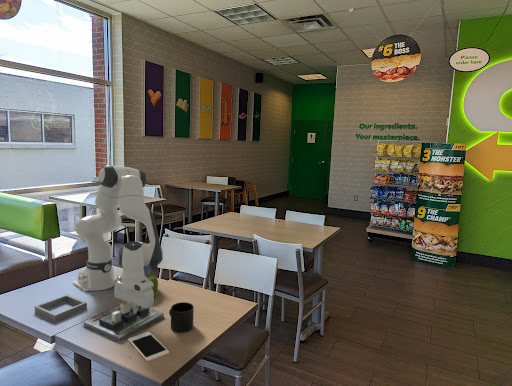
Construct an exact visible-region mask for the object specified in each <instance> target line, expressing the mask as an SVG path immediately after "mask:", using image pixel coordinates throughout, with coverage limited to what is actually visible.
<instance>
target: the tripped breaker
mask: <svg viewBox="0 0 512 386" xmlns="http://www.w3.org/2000/svg"><path fill="white" fill-rule="evenodd" d="M120 305H121V313H122V314H125V313H127V312H129V307H128V304H127V301H124V300H123V301H122V302H120Z"/></svg>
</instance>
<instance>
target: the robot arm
mask: <svg viewBox="0 0 512 386" xmlns="http://www.w3.org/2000/svg"><path fill="white" fill-rule="evenodd" d="M98 182H99V184H100V185H99V188H98V191H97V193H96V197H95V201H94V204H95V206H96V208H98V209H99V211H98V213H96V214H91V215H86V216H84V217H82V218H80V219H78V220H77V221H76V223H75V227H74V228H75V232H76V234H77V235H78V236H79V237H80V238H82V239H83V240H84V241H85V243H86V245H87V246H86V247H87V255H88V259H87V260H86V261H85V264H86V265H85V267H84V268H83V269H81V270H80V271H79V272H78V275H77V279H75V280H73V282H72V285H74V286H76V287H77V288H79V289H80V290H82V291H84V292H90V291H104V290H107V289H111V288H113V287H114V289H113V295H114V298H116V299H119V300H122V301H123V302H124V301H127V304H128V307H129V311H130V312H132V313H137V308H138V307H139V306H140V307H143V308H146V309H147V308H151V307H153V306H154V304H155V295H154V292H153V289H152V287H153V285H154V284H153V282H152V281H150V280H149V279H148V278H147V277H146V276H144V269H143V267H144V266H151V267H157V266H158V265H160V264H161V263H162V262H163V258H164V253H163V250H162V249H163V248H162V246H161V243H160V237H159V234H158V230H157V225H156V221H155V217H154V213H153V211H152V209H150V208H148V206H147V204H146V202H145V191H144V188H145V186H146V184H147V175H146V173H145V171H144V170H141V169H139V168H137V169H136V168H133V167H129V166H123V165H122V166H120V165H112V164H107V165H103V166H102V167H101V168H100V170H99V173H98ZM118 207H119V208H118ZM118 209H119V210H120V213H121V214H122V215H123V216H125V217H127V218H128V219H132V220H134V221H137V222H140V223H142V224H143V225H145V227H146V231H147V235H148V239H149V243H146V244H141V243H140V241H138V242H137V241H129V242H126V243H124V245H123V246H122V247H121V248H120V249H119V250H118V260H119V261H118V265H119V266H120V267H121V268H122V273H121V276H117V277H115V272H114V267H113V258H112V246H111V244H110V242H108V241H107V240H105V237H104V235H105V234H108V233H112V232H114V231H116V230H117V229H119V228H120V227H121V226H122V222H123V221H122V220H123V219H122V217H121V216H120V214H119V213H118Z"/></svg>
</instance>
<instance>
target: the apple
mask: <svg viewBox="0 0 512 386" xmlns="http://www.w3.org/2000/svg"><path fill="white" fill-rule="evenodd" d="M144 276H146V277H147V278H148V279H149V280H150V281H152V282H153V284H154V285H153V287H152V289H153V292H154V296H155V295H157V294H158V290H159V289H158V288H159V280H158V277H157V276H156V275H154V274H151V275H144Z"/></svg>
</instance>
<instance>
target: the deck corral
mask: <svg viewBox="0 0 512 386" xmlns="http://www.w3.org/2000/svg"><path fill="white" fill-rule="evenodd" d="M64 303H68V304H71V305H73V306H72V307H70V308H67V309H65V310H62V311H60V312H57V313H55V312H52V311H50V310H49V309H51V307H52V308H53V307H56V306H59V305H61V304H64ZM48 308H49V309H48ZM87 309H88V302H86V301H84V300H81V299H79V298H77V297H74V296H71V295H69V294H65V295H62V296H60V297H57V298H54V299H51V300H48V301H46V302H43V303H40V304H38V305H35V306H34V313H35V314H36V313H37V315H38V314H39V316H41V317H43V318H45V319H47V320H49V321H52V322H53V323H57V322H59V321H61V320H63V319H66V318H68V317H71V316H73V315H75V314H78V313H80V312H82V311H85V310H87Z"/></svg>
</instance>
